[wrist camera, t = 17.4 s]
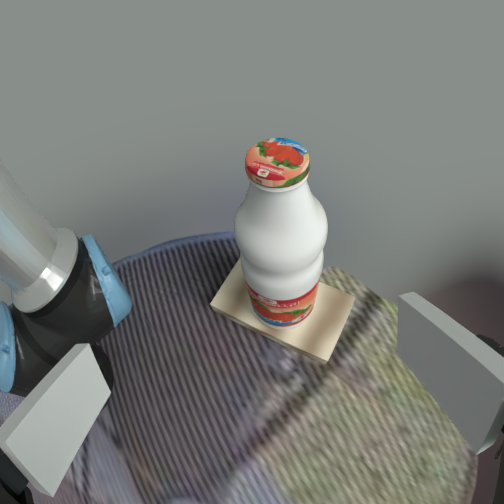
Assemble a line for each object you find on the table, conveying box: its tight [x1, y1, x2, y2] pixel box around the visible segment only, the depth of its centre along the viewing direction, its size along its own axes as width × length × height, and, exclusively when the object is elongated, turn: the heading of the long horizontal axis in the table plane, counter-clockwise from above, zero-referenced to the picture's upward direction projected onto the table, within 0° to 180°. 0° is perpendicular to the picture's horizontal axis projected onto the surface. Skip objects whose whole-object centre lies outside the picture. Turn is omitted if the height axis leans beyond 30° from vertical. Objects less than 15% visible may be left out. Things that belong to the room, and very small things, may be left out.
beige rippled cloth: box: [210, 258, 356, 364], centre depth 46 cm, size 20×11×3 cm, turn 61°
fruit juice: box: [234, 138, 328, 330], centre depth 33 cm, size 9×9×28 cm
